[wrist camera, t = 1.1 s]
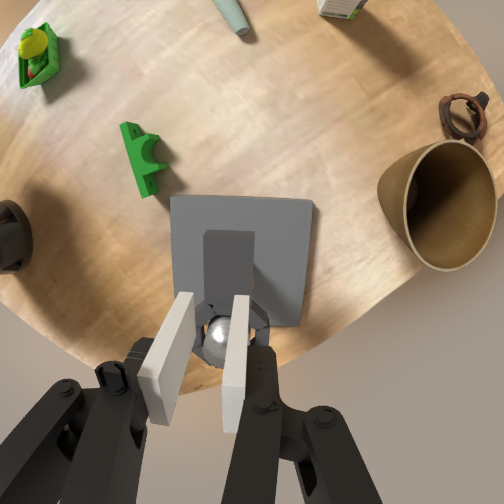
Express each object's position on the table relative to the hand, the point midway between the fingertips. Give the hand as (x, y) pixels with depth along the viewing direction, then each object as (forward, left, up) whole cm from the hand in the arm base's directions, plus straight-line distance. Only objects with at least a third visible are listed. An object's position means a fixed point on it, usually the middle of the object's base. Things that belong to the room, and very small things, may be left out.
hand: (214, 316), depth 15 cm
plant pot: (+24, +5, -29) cm, 38 cm away
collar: (0, -5, -10) cm, 11 cm away
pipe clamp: (-13, +8, -29) cm, 33 cm away
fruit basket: (-36, +29, -29) cm, 55 cm away
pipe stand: (0, -8, -28) cm, 29 cm away
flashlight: (-4, +36, -29) cm, 47 cm away
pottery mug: (+36, +20, -29) cm, 51 cm away
